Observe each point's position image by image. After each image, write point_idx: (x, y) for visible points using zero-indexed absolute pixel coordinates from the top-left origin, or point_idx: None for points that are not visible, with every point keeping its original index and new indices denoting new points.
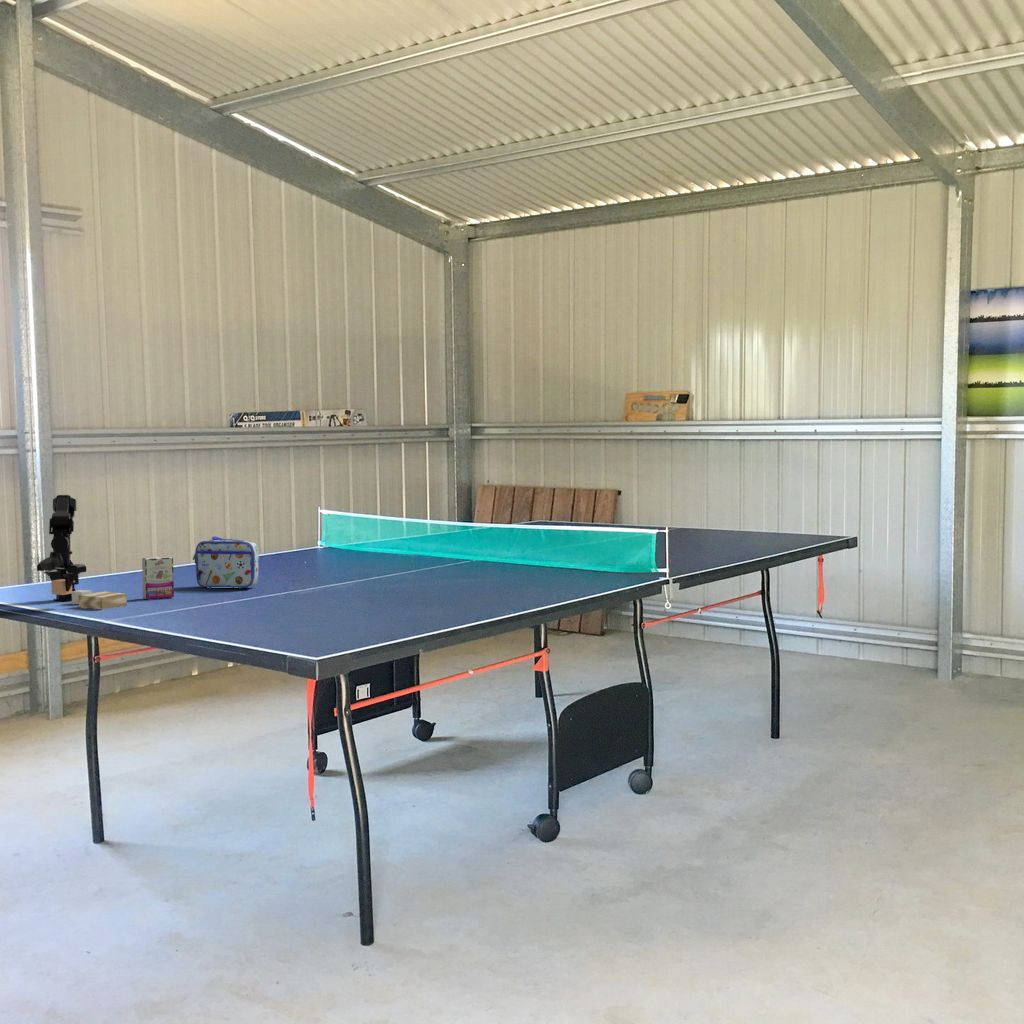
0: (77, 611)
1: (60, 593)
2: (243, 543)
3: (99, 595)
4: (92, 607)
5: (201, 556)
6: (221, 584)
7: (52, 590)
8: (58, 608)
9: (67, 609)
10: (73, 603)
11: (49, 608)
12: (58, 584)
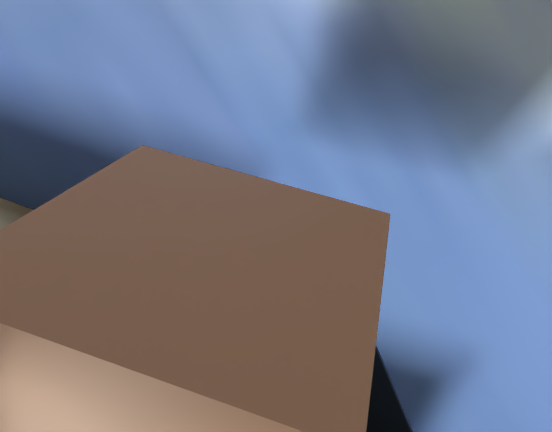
0: (22, 30)
1: (161, 161)
2: None
3: None
4: (11, 211)
5: None
6: None
7: (356, 243)
8: (342, 184)
9: (205, 137)
10: None
11: (452, 165)
12: (106, 273)
